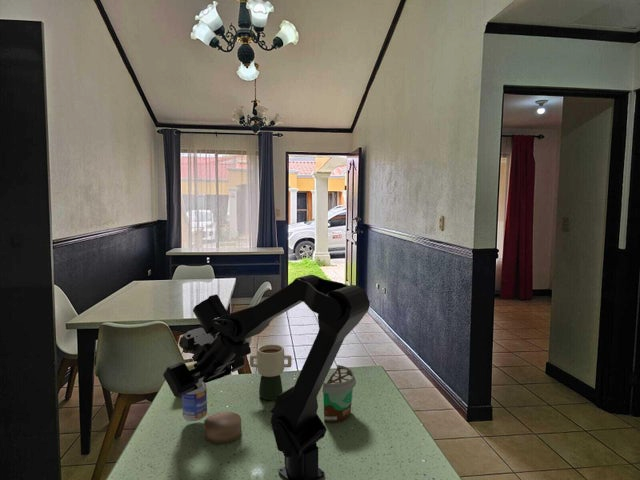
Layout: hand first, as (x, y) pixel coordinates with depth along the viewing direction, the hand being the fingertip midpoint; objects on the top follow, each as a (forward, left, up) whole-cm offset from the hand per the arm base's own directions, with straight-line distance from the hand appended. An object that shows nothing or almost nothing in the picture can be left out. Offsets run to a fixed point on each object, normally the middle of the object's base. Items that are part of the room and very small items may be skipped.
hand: (190, 386), depth 97 cm
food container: (-20, -29, -9) cm, 37 cm away
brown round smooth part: (-9, -3, -8) cm, 13 cm away
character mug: (-1, -21, -9) cm, 23 cm away
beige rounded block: (+15, -5, -9) cm, 18 cm away
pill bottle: (-1, 0, -7) cm, 7 cm away
